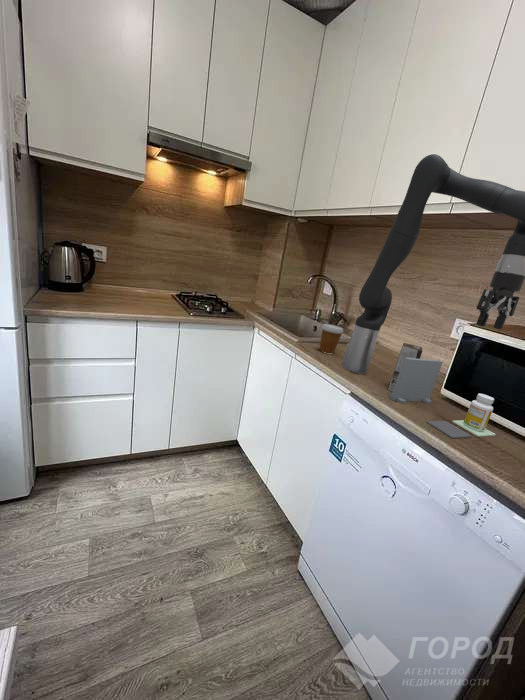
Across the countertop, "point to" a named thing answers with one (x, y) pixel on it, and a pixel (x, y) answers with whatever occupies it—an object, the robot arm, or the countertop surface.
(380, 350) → the countertop surface
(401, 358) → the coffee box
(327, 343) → the disposable coffee cup
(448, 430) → the grey pad
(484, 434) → the green pad
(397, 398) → the screen
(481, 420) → the supplement bottle
